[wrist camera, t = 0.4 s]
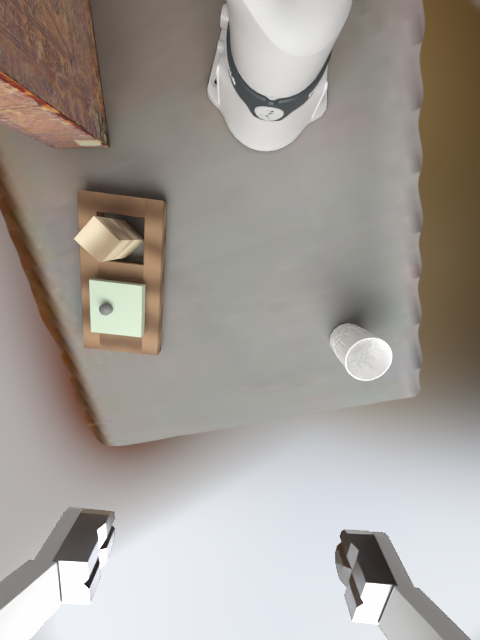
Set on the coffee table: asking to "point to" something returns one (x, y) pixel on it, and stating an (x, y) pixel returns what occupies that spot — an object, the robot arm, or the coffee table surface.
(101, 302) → the lid
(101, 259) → the maple block
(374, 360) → the white cup
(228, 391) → the coffee table surface
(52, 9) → the book
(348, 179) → the coffee table surface
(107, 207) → the puzzle board
